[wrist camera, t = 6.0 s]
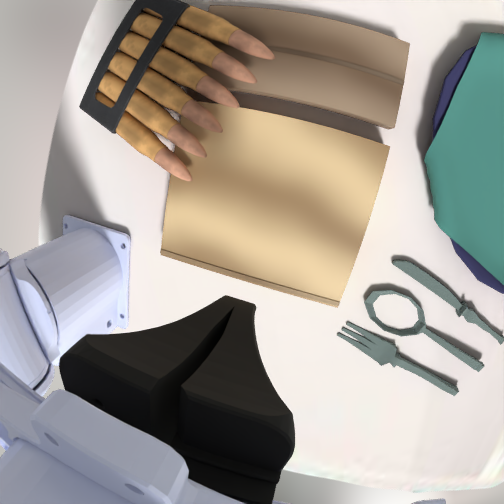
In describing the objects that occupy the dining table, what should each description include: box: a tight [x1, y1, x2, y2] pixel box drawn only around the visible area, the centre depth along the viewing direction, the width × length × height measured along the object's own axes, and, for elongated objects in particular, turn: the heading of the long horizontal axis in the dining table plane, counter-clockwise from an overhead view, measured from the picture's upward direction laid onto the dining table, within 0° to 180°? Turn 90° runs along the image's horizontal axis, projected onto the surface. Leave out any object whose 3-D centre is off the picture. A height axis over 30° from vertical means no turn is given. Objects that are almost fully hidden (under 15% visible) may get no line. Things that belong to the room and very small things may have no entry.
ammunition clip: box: [79, 0, 275, 181], centre depth 16 cm, size 11×2×12 cm
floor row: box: [194, 5, 410, 129], centre depth 15 cm, size 6×13×2 cm, turn 78°
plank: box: [160, 101, 390, 308], centre depth 19 cm, size 11×13×2 cm
